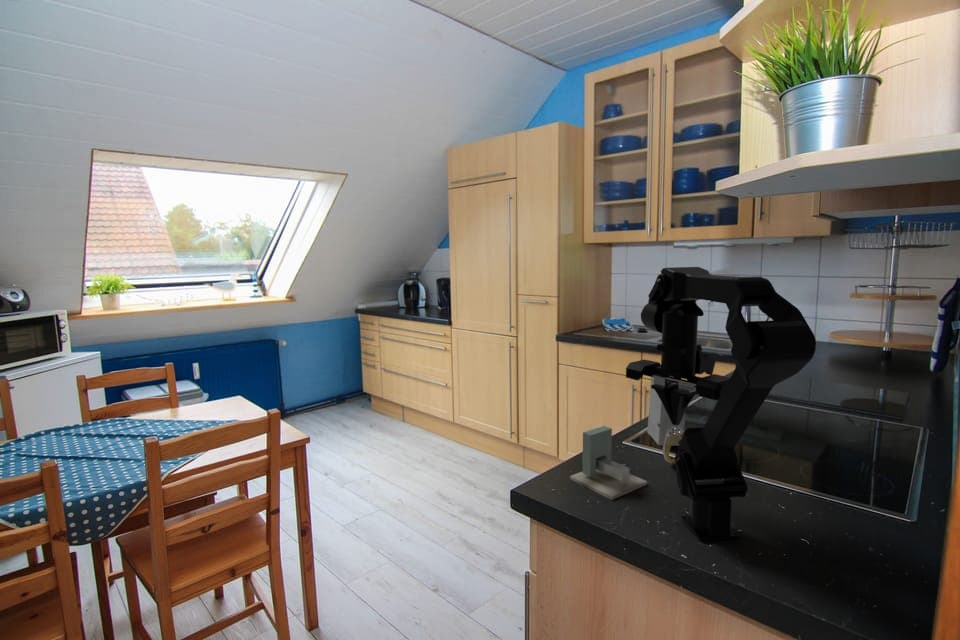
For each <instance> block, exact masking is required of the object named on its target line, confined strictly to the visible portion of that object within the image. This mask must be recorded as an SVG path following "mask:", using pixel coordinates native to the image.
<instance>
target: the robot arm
mask: <svg viewBox="0 0 960 640" xmlns="http://www.w3.org/2000/svg"><path fill="white" fill-rule="evenodd" d="M647 296H648V300H647V301H648V302H647V304H645V305H644V306H643V308H642V310H641V312H640V320H641V322H642V325H643V326H645V327H646V328H647V329H649V330H652V331H655V332H658V333H660V334H661V343H659V344H656V350H657V351H659V352H661V357H660V362H661V363H660V362H659V361H654V360H650V359H640V360H635V361H632V362H629V363H628V364H627V365H626V368H625V378H626V379H630V380H633V381H640V380H641V379H642V378H643V377H644V376H646V377H650V378H651V377H654V384H653V385H651V384H650V386H651V388H652V389H654V390H655V391H656V393H657V395H658V396H659V398H660V400H661V401H662V403H663V405H664V407H665V410H666V412H667V414H668V416H669V418H670V420H671V422H672V424H673V425H676V426H677V425H679V424H680V422H681V420H682V418H683V416H684V413H685V414H686V411H687V409H688V407H689V405H690V403H691V402H692V399H694V397H695V396H696V395H698V396H699V397H702V398H704V399H705V398H706V399H709V400H713V401H717V402H716V404H715V405H714V407H713V409H712V411H711V413H710V415H709V417H708V419H706V420H707V421H706V422H705V423H704V426H701V427H687V428H686V429H684V434H683V437H682V439H681V440H680V441H678V444H679V445H680V446H678V447H677V451H676V452H675V454H674V455H675V456H674V458H675V464H674V467H675V471H676V472H675V473H676V480H677V481H676V483H677V484H678V485H677V487H678V488H679V489H680V491H679V493H680V495H682V496H684V497H687V498H688V499H690V503H689V505H690V506H689V515H682V516H680V520H681V522H682V523H683V524H684V525H685V526H686V527H687V528H688V529H689V531H690V532H691V533H692V534H693V535H694V536H695V537H696V538H697V539H698V540H699V541H702V542H705V541H706V542H707V541H716V540H717V541H719V540H720V541H721V540H733V539H734V540H735V539H739V538H740V536H741V535H740V533H739V532H738V531H737V530H736V529H734V527H732V525H731V523H732V508H733V507H732V505H733V500H732V498H745V497H746V496H747V495H746V494H747V492H748V485H747V482H746V480H745V477H744V474H743V473H742V470H741V468H740V465H739V462H740V458H739V455H738V452H737V449H736V447H737V444H738V443H739V442H740V439H741V438H742V436H743V435H744V433H745V432H746V430H747V429H748V427H749V425H751V422H752V421H753V419H754V417H755V416H756V415H757V413H758V412H759V410H760V408H761V407H762V405H763V404H764V402H765V400H766V399H767V397H768V396H769V395H770V393H771V391H772V389H774V387H775V386H776V385H778V384H780V383H781V382H783V381H785V380H788V379H790V378H792V377H793V376H795V375H797V374H799V372H800V371H801V370H803V368H805V366H806V365H808V364H809V362H810V361H811V360H812V359H813V357H814V355H815V352H816V349H817V346H816V345H817V340H816V336H815V333H814V332H813V331H812V329H811V327H810V326H809V324H808V322H807V320H806V319H805V317H804V316H803V314H802V312H801V310H800V309H799V308H798V307H797V306H795V305H794V304H792V303H791V302H790V301H789V300H787V299H786V298H784V297H783V296H782V295H780V294H779V293H778V292H777V290H776V289H775V287H774V286H773V283H771V281H770V280H769V278H768V279H767V278H766V277H762V276H734V275H733V276H731V275H719V274H718V275H717V274H715V275H714V274H710V271H709V270H708V269H706V268H705V269H704V268H703V267H700V266H688V267H686V266H684V267H683V266H682V267H681V266H680V267H679V266H678V267H674V266H673V267H663V268H662V269H661V270H660V274H658V275H657V276H656V279H655V281H654V284H653V287H652V288H651V290H650V292H649V294H648V295H647ZM699 300H702V301H708V302H713V303H720V304H725V305H726V308H727V309H728V314H727V316H726V317H727V318H726V323H725V332H726V333H727V335H728V337H729V339H730V342H731V344H732V346H731V348H730V349H731V350H730V353H731V357H732V359H733V362H734V364H735V368H734V370H733V372H732V374H731V376H726V375H722V374H716V373H714V369H715V365H716V362H717V358H716V357H714V356H711V355H708V354H706V353H703V352H702V351H703V348H702V344H698V325H699V323H698V322H699V317H703V316H704V311H703V309H702V308H700V306H698V303H697V301H699ZM743 307H758V309H759V310H760V311H761V312H762V313H763V314H765V316H767V317H768V318H769V319H771V320H755V321H754V320H753V321H746V319H745V317H744V315H743V313H742V310H743ZM704 374H707V375H706V376H703V377H702V376H696V375H704ZM671 376H672V377H671ZM719 479H720V480H719ZM721 479H723V480H721ZM705 480H708V481H705ZM711 480H712V481H711ZM713 480H714V481H713Z"/></svg>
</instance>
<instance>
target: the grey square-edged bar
mask: <svg viewBox="0 0 960 640" xmlns="http://www.w3.org/2000/svg"><path fill="white" fill-rule="evenodd" d="M581 455H582V457H581V459H582V461H581V463H582V464H583V453H582V454H581ZM596 470H598V471H601V472H603V473H605V474H607V475H610V476H612V477H614V478H616V479H618V485H619V486H621V487H626V486H627V480H628V479H629V474H630V468H629V467H628V466H626V465H622V464H620V463H619V462H616V461H614V460H612V459H611V460H609V459H607V458H604V457H602V456H601V457H599V458H596Z"/></svg>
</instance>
